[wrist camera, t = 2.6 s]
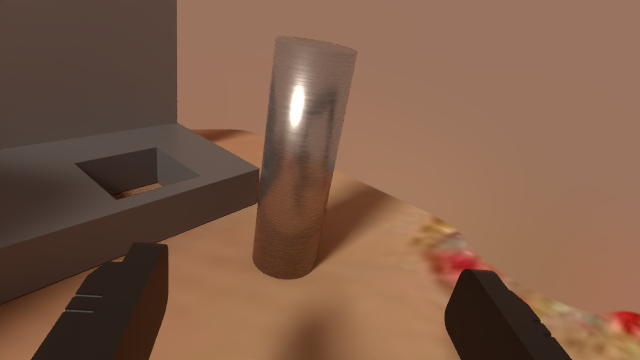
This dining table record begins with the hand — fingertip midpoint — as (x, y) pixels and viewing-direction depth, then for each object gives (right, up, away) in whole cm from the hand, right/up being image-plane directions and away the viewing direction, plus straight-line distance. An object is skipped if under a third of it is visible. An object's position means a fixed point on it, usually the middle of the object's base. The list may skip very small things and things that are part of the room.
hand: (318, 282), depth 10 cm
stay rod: (-2, -2, +14) cm, 14 cm away
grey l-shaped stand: (-15, +1, +15) cm, 22 cm away
